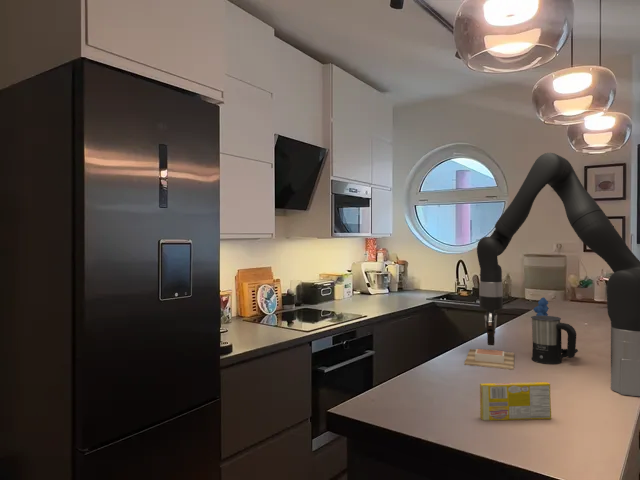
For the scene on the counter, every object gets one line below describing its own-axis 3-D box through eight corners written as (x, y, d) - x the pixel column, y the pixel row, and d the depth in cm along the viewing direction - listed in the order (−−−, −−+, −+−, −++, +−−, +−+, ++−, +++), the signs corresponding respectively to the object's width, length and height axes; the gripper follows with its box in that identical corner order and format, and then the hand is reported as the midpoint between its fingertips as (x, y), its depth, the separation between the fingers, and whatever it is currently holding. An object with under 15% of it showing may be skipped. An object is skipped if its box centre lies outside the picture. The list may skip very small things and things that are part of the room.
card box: (504, 358, 160) (503, 363, 154) (476, 355, 163) (475, 360, 157) (504, 350, 160) (503, 355, 154) (476, 348, 163) (475, 352, 157)
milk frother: (529, 362, 157) (529, 318, 157) (533, 352, 171) (533, 311, 171) (578, 368, 150) (578, 322, 150) (578, 356, 164) (578, 314, 164)
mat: (513, 369, 148) (513, 367, 148) (464, 364, 154) (464, 362, 154) (513, 354, 167) (514, 352, 167) (469, 350, 173) (469, 349, 173)
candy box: (547, 416, 111) (547, 381, 111) (551, 419, 109) (551, 384, 109) (479, 417, 110) (479, 382, 110) (482, 421, 108) (482, 385, 108)
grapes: (536, 319, 235) (536, 295, 235) (551, 321, 230) (551, 296, 230) (529, 322, 226) (529, 298, 226) (544, 324, 222) (544, 299, 221)
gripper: (501, 297, 153) (502, 350, 154) (503, 292, 166) (503, 341, 166) (477, 296, 156) (477, 348, 157) (480, 291, 169) (480, 339, 169)
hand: (491, 344), depth 161 cm, fingers closed
